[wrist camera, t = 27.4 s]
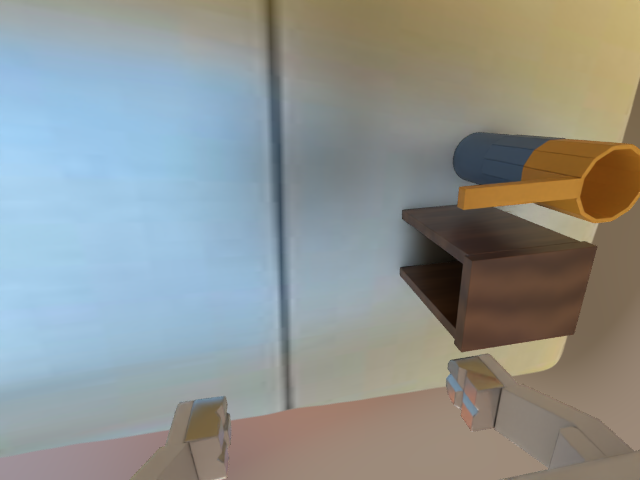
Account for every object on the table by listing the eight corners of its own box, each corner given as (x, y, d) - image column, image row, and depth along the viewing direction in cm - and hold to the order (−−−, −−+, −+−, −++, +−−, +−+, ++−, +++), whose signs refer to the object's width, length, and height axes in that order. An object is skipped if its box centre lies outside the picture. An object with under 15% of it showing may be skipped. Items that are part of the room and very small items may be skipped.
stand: (399, 210, 50) (472, 261, 33) (484, 201, 52) (597, 246, 35) (396, 275, 54) (461, 352, 37) (476, 265, 56) (574, 334, 39)
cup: (424, 216, 36) (460, 238, 29) (428, 149, 33) (468, 157, 27) (572, 201, 38) (635, 218, 32) (586, 137, 36) (658, 141, 29)
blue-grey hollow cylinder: (455, 133, 48) (527, 140, 35) (500, 130, 49) (586, 136, 36) (450, 182, 50) (516, 206, 37) (493, 179, 51) (572, 200, 38)
